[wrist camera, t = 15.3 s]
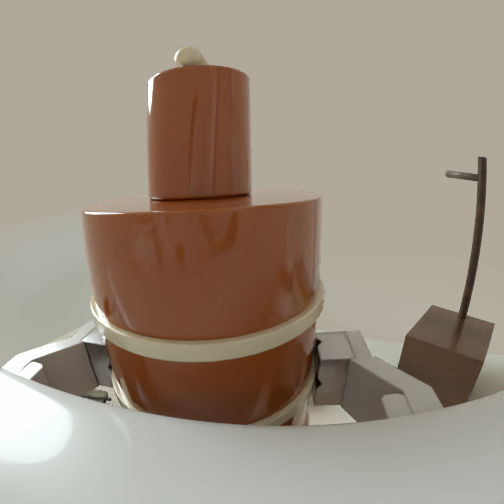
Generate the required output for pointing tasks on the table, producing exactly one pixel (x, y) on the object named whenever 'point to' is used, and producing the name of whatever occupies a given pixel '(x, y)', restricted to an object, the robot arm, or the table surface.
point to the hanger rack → (452, 328)
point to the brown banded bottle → (207, 265)
